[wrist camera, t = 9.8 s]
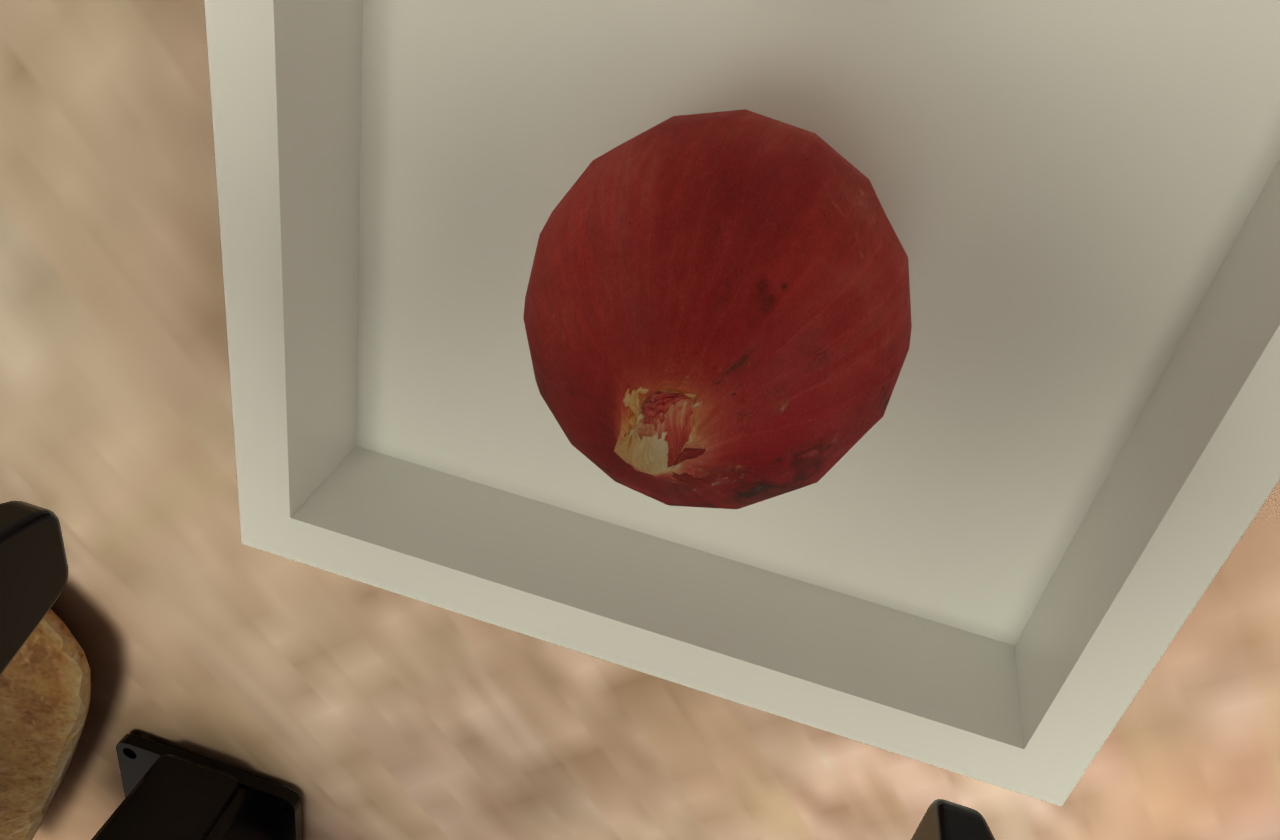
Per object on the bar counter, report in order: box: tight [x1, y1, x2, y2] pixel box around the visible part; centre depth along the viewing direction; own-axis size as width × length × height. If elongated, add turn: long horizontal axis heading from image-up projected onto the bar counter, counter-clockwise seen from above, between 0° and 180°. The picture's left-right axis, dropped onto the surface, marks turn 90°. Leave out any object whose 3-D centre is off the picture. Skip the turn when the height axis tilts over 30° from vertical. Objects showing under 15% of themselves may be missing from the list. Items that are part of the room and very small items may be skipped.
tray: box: [205, 0, 1280, 806], centre depth 17 cm, size 18×18×4 cm
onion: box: [523, 109, 912, 509], centre depth 15 cm, size 6×6×8 cm
